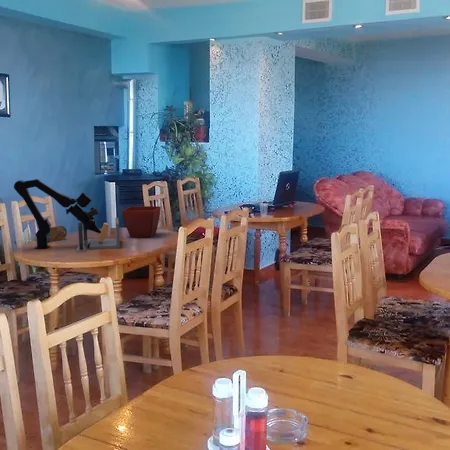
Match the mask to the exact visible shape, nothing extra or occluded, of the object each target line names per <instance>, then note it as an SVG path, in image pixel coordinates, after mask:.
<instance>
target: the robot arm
mask: <svg viewBox="0 0 450 450" xmlns="http://www.w3.org/2000/svg"><path fill="white" fill-rule="evenodd" d="M13 188H14V190H15V191H16V193H17V194H18V195H19V196H20V197H21V198H22V200H23V202H24V203H25V204H26V206H27V208H28V209H29V211H30V213H31V215H32V216H33V218H34V219H35V221H36V226H37V228H38V230H37V231H36V233H35V237H36V246H35V247H34V249H48V248H49V247H51V245H50V244H48V243H49V242H48V240H47V236H46V235H47V234H48V233H49V232H50V230H51V227H52V223H51V222H50V220H49V218H48V217H46V218H45V217H44V216H43V215H42V213H41V211H40V210H39V208H38V206H37V205H36V203H35V201H34V200H33V198H32V196H31V194H30V191H29V189H30V188H37V189H38V190H40V191H41V192H43V193H45V194H46V195H48V196H50V197H51V198H52V199H54V200H55V201H56V202H57V203H58V204H59V205H60V206H61V207H62V208H65V213H66V215H69V214H71V215H72V216H73V217H75V218H76V220H77V221H79V223H82V226H83V225H84V229H85V230H87V231H91V232H95V233H97V234H100V233H101V229H100V228H99V227H98V226H97V223H96V218H95V216H96V215H99V214H100V212H99V210H98V209H97V207H93V206H92V207H90V210H88V211H86V210H84V208H87V207H88V206H89V205H90V203H91V202H92V201H93V199H92V198H91V197H90V196H89V195H86V193H84V192H81V193H80V195H79V196H78V197H77V198H71V197H70V196H68V195H66V194H63V193H61V192H58V191H56V190H55V189H53V188H52V187H50V186H49V185H47V184H46V183H44V182H42V181H41V179H38V178H36V179H31V180H22V179H20V180H19V179H18V180H17V181H16V182H15V183H14V184H13Z"/></svg>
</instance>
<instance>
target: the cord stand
mask: <svg viewBox="0 0 450 450" xmlns="http://www.w3.org/2000/svg"><path fill="white" fill-rule="evenodd" d="M77 225H78V226H77V227H78V246H77V247H76V250H75V252H76V253H81V252H83V253H84V252H86V253H87V250H88V247H89V246H90V239H91V238H88V230H85V229H84V225H83V224H82V223H81V222H78V224H77Z"/></svg>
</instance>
